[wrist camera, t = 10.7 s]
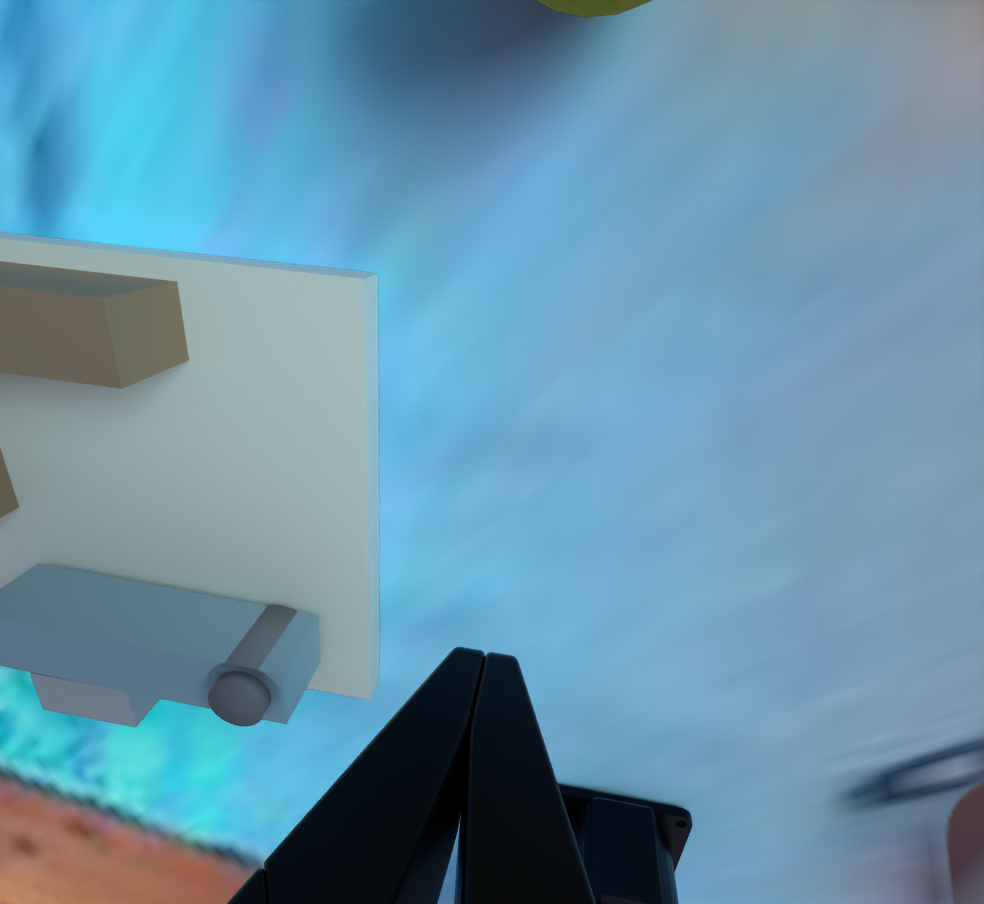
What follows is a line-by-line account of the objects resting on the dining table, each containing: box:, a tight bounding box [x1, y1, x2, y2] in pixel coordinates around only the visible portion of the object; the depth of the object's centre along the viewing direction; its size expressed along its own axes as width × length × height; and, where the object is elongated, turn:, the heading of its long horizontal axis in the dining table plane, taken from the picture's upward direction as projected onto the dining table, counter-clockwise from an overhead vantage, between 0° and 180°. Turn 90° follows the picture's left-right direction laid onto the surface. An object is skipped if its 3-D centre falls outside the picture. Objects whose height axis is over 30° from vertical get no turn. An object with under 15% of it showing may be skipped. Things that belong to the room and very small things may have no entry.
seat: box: [0, 232, 379, 727], centre depth 20 cm, size 18×17×4 cm
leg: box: [0, 563, 321, 726], centre depth 21 cm, size 12×3×4 cm, turn 84°
